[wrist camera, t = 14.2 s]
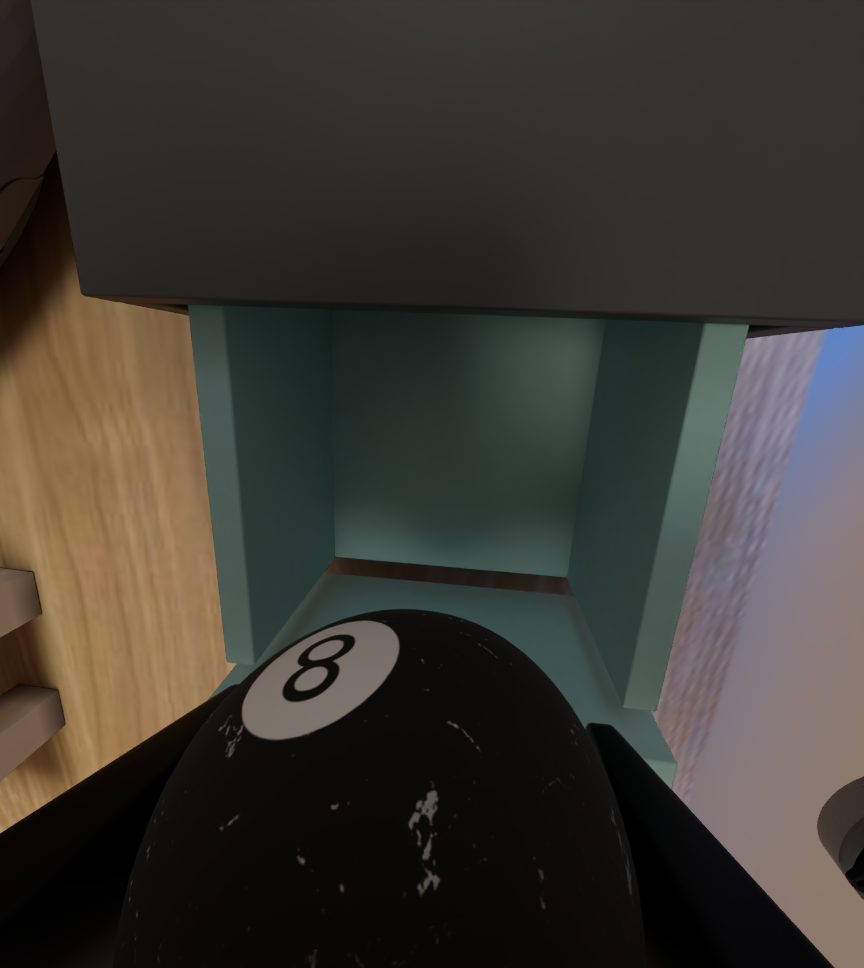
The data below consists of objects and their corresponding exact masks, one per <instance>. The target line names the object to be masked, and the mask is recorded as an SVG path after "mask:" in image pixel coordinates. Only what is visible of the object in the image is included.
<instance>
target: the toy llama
mask: <svg viewBox="0 0 864 968" xmlns="http://www.w3.org/2000/svg"><path fill="white" fill-rule="evenodd" d="M39 615H41V609H40V604H39V599H38V595H37V590H36V585H35V581H34V576H33V572H27V571H20V570H12V569H4V568H0V637H2V636H4V635H5V634H7V633H9V632H11V631H12V630H14V629H16V628H18V627H20V626H21V625H23V624H25V623H27V622H28V621H30V620H32V619H34V618H35V617H37V616H39ZM64 725H65V722H64V717H63V713H62V708H61V703H60V699H59V694H58V690H53V689H47V688H41V687H34V686H28V685H21V684H17V685H15V686H14V687H13V688H11V689H10V690H8V691H7V692H5V693H4V694H2V695H1V696H0V781H1V780H2V779H3V778H4V777H6V776H7V775H8V774H9V773H10V772H11V771H13V770H14V769H15V768H16V767H17V766H18V765H19V764H21V763H22V762H23V761H24V760H25V759H26V758H28V757H29V756H30V755H31V754H32V753H33V752H34V751H36V750H37V749H38V748H39V747H40V746H41V745H43V744H44V743H45V742H46V741H47V740H48V739H49V738H51V737H52V736H53V735H54V734H55V733H56V732H58V731H59V730H60V729H61V728H62V727H63V726H64Z"/></svg>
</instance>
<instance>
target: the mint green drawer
mask: <svg viewBox="0 0 864 968" xmlns="http://www.w3.org/2000/svg"><path fill="white" fill-rule="evenodd" d="M188 310H189V319H190V328H191V337H192V347H193V356H194V365H195V374H196V383H197V393H198V402H199V411H200V420H201V429H202V439H203V448H204V457H205V466H206V476H207V485H208V494H209V503H210V512H211V522H212V531H213V540H214V549H215V558H216V568H217V577H218V586H219V595H220V605H221V614H222V623H223V632H224V641H225V651H226V660H227V662H230V663H238V664H237V665H236V666H235V667H234V668H233V670H232V671H231V672H230V673H229V675H228V676H227V677H226V678H225V680H224V681H223V682H222V683H221V684H220V686H219V687H218V688H217V689H216V691H215V692H214V693H213V694H212V696H211V697H210V698H209V699H211V698H212V697H214V696H215V695H217V694H218V693H220V692H222V691H223V690H225V689H226V688H228V687H229V686H231V685H234V684H240V683H241V682H242V681H243V680H244V679H245V678H246V677H247V676H248V675H249V674H250V673H252V672H253V671H254V670H255V669H257V668H258V667H259V666H260V665H261V664H263V663H264V662H265V661H267V660H268V659H269V658H271V657H272V656H273V655H275V654H276V653H277V652H279V651H280V650H282V649H283V648H285V647H286V646H288V645H290V644H291V643H293V642H295V641H296V640H298V639H300V638H301V637H303V636H305V635H307V634H309V633H311V632H313V631H315V630H317V629H320V628H322V627H324V626H326V625H328V624H331V623H333V622H336V621H339V620H341V619H344V618H348V617H352V616H355V615H359V614H363V613H367V612H373V611H380V610H389V609H418V610H427V611H435V612H440V613H445V614H450V615H453V616H457V617H460V618H464V619H467V620H469V621H472V622H474V623H477V624H479V625H481V626H483V627H485V628H487V629H489V630H491V631H493V632H495V633H497V634H498V635H500V636H502V637H503V638H505V639H506V640H508V641H509V642H510V643H512V644H513V645H515V646H516V647H517V648H519V649H520V650H521V651H522V652H524V653H525V654H526V655H527V656H528V657H529V658H530V659H531V660H533V661H534V662H535V663H536V664H537V665H538V666H539V667H540V668H541V669H542V670H543V671H544V673H545V674H546V675H547V676H548V677H549V678H550V679H551V680H552V681H553V683H554V684H555V685H556V686H557V688H558V689H559V690H560V692H561V693H562V694H563V696H564V697H565V698H566V700H567V701H568V702H569V704H570V705H571V707H572V708H573V710H574V711H575V713H576V715H577V716H578V718H579V719H580V721H581V723H582V724H583V726H584V728H586V726H587V724H588V723H591V722H593V723H602V724H609V725H612V726H613V727H614V728H615V729H616V730H617V731H618V732H619V733H620V734H621V735H622V736H623V737H624V738H625V739H626V741H627V742H628V743H629V744H630V745H631V746H632V747H633V748H634V749H635V750H636V751H637V753H638V754H639V755H640V756H641V757H642V758H643V759H644V760H645V761H646V762H647V763H648V765H649V766H650V767H651V768H652V769H653V770H654V771H655V772H656V773H657V774H658V776H659V777H660V778H661V779H662V780H663V781H664V782H665V783H666V784H667V785H668V786H669V788H670V789H672V785H673V781H674V777H675V774H676V770H677V762H676V761H675V759H674V757H673V755H672V753H671V751H670V749H669V747H668V745H667V743H666V741H665V739H664V737H663V735H662V733H661V731H660V729H659V727H658V725H657V723H656V721H655V719H654V717H653V716H652V714H651V712H650V711H656V710H657V706H658V702H659V698H660V694H661V689H662V685H663V681H664V677H665V673H666V669H667V665H668V660H669V656H670V652H671V648H672V644H673V640H674V635H675V631H676V627H677V623H678V619H679V615H680V611H681V606H682V602H683V598H684V594H685V590H686V586H687V581H688V577H689V573H690V569H691V565H692V561H693V557H694V552H695V548H696V544H697V540H698V536H699V532H700V528H701V523H702V519H703V515H704V511H705V507H706V503H707V498H708V494H709V490H710V486H711V482H712V478H713V474H714V469H715V465H716V461H717V457H718V453H719V449H720V444H721V440H722V436H723V432H724V428H725V424H726V420H727V415H728V411H729V407H730V403H731V399H732V395H733V391H734V386H735V382H736V378H737V374H738V370H739V366H740V361H741V357H742V353H743V349H744V345H745V341H746V337H747V332H748V328H749V325H744V324H716V323H688V322H661V321H633V320H605V319H577V318H549V317H521V316H493V315H465V314H437V313H409V312H382V311H354V310H326V309H298V308H270V307H242V306H214V305H188ZM335 557H342V558H353V559H364V560H375V561H387V562H398V563H409V564H420V565H431V566H443V567H454V568H465V569H476V570H488V571H499V572H510V573H521V574H532V575H544V576H555V577H566V578H567V580H568V582H569V584H570V586H571V589H572V591H573V593H574V596H572V595H561V594H550V593H539V592H529V591H518V590H507V589H496V588H486V587H475V586H464V585H453V584H442V583H432V582H421V581H410V580H399V579H388V578H378V577H367V576H356V575H345V574H335V573H324V572H325V570H326V569H327V568H328V566H329V565H330V564H331V562H332V561H333V560H334V558H335ZM209 699H208V700H209Z"/></svg>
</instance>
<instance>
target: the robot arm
mask: <svg viewBox="0 0 864 968" xmlns="http://www.w3.org/2000/svg"><path fill="white" fill-rule="evenodd" d="M238 685H239V684H234V685H231V686H229V687H228V688H226V689H225V690H223V691H222V692H220V693H218V694H217V695H215V696H214V697H212V698H211V699H209V700H208V701H206V702H204V703H203V704H201V705H200V706H198V707H197V708H195V709H194V710H192V711H190V712H189V713H187V714H186V715H184V716H183V717H181V718H179V719H178V720H176V721H175V722H173V723H172V724H170V725H169V726H167V727H165V728H164V729H162V730H161V731H159V732H158V733H156V734H155V735H153V736H151V737H150V738H148V739H147V740H145V741H144V742H142V743H140V744H139V745H137V746H136V747H134V748H133V749H131V750H130V751H128V752H126V753H125V754H123V755H122V756H120V757H119V758H117V759H116V760H114V761H112V762H111V763H109V764H108V765H106V766H105V767H103V768H102V769H100V770H98V771H97V772H95V773H94V774H92V775H91V776H89V777H87V778H86V779H84V780H83V781H81V782H80V783H78V784H77V785H75V786H73V787H72V788H70V789H69V790H67V791H66V792H64V793H63V794H61V795H59V796H58V797H56V798H55V799H53V800H52V801H50V802H48V803H47V804H45V805H44V806H42V807H41V808H39V809H38V810H36V811H34V812H33V813H31V814H30V815H28V816H27V817H25V818H24V819H22V820H20V821H19V822H17V823H16V824H14V825H13V826H11V827H10V828H8V829H6V830H5V831H3V832H2V833H0V968H113V957H114V949H115V944H116V938H117V932H118V926H119V921H120V916H121V911H122V906H123V902H124V898H125V894H126V890H127V886H128V882H129V878H130V875H131V872H132V869H133V866H134V862H135V859H136V856H137V853H138V850H139V847H140V844H141V842H142V839H143V836H144V833H145V831H146V828H147V826H148V823H149V821H150V818H151V816H152V813H153V811H154V808H155V806H156V804H157V802H158V800H159V798H160V796H161V794H162V792H163V789H164V787H165V785H166V783H167V782H168V780H169V778H170V776H171V774H172V773H173V771H174V769H175V767H176V766H177V764H178V762H179V760H180V759H181V757H182V755H183V754H184V752H185V750H186V748H187V747H188V745H189V744H190V742H191V741H192V739H193V738H194V737H195V735H196V734H197V732H198V731H199V729H200V728H201V727H202V725H203V724H204V723H205V722H206V720H207V719H208V718H209V717H210V715H211V714H212V713H213V712H214V711H215V709H216V708H217V707H218V706H219V705H220V703H221V702H222V701H223V700H224V699H225V698H226V697H227V696H228V695H229V694H230V693H231V692H232V691H233V690H234V689H235V688H236V687H237V686H238ZM585 730H586V732H587V733H588V735H589V737H590V739H591V741H592V743H593V745H594V747H595V749H596V751H597V753H598V755H599V757H600V759H601V762H602V764H603V766H604V769H605V771H606V773H607V776H608V778H609V781H610V783H611V786H612V789H613V791H614V794H615V797H616V799H617V803H618V806H619V809H620V813H621V816H622V819H623V823H624V826H625V830H626V833H627V837H628V840H629V843H630V848H631V852H632V857H633V862H634V867H635V872H636V877H637V882H638V888H639V894H640V901H641V909H642V916H643V924H644V936H645V955H646V968H834V967H833V966H832V964H830V962H829V961H828V960H827V959H826V958H825V957H824V956H823V955H822V954H821V952H819V950H818V949H817V948H816V947H815V946H814V945H813V944H812V943H811V942H810V940H809V939H808V938H807V937H806V936H805V935H804V934H803V933H802V932H801V931H800V930H799V928H797V926H796V925H795V924H794V923H793V922H792V921H791V920H790V919H789V918H788V917H787V915H786V914H785V913H784V912H783V911H782V910H781V909H780V908H779V907H778V905H777V904H775V902H774V901H773V900H772V899H771V898H770V897H769V896H768V895H767V893H766V892H765V891H764V890H763V889H762V888H761V887H760V886H759V885H758V884H757V883H756V881H755V880H754V879H753V878H752V877H751V876H750V875H749V874H748V873H747V872H746V871H745V869H744V868H743V867H742V866H741V865H740V864H739V863H738V862H737V861H736V860H735V859H734V857H733V856H732V855H731V854H730V853H729V852H728V851H727V850H726V849H725V848H724V847H723V846H722V844H721V843H720V842H719V841H718V840H717V839H716V838H715V837H714V836H713V835H712V833H711V832H710V831H709V830H708V829H707V828H706V827H705V826H704V825H703V824H702V823H701V821H700V820H699V819H698V818H697V817H696V816H695V815H694V814H693V813H692V812H691V810H690V809H689V808H688V807H687V806H686V805H685V804H684V803H683V802H682V801H681V800H680V798H679V797H678V796H677V795H676V794H675V793H674V792H673V791H672V790H671V789H670V788H669V786H668V785H667V784H666V783H665V782H664V781H663V780H662V779H661V778H660V777H659V776H658V774H657V773H656V772H655V771H654V770H653V769H652V768H651V767H650V766H649V765H648V763H647V762H646V761H645V760H644V759H643V758H642V757H641V756H640V755H639V754H638V753H637V751H636V750H635V749H634V748H633V747H632V746H631V745H630V744H629V743H628V742H627V741H626V739H625V738H624V737H623V736H622V735H621V734H620V733H619V732H618V731H617V730H616V729H615V728H614V727H613V726H612V725H609V724H602V723H593V722H591V723H588V724H587V726H586V728H585ZM845 877H846V879H847V880H848V882H849V883H850V884H851V886H852V887H854V889H856V890H858V891H860V892H861V893H863V894H864V860H862V861H861V862H859V863H858V864H856V865H855V866H854V867H852V868H851V869H849V870H848V871H847V872H846V873H845Z"/></svg>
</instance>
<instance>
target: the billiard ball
mask: <svg viewBox="0 0 864 968" xmlns="http://www.w3.org/2000/svg"><path fill="white" fill-rule="evenodd" d="M113 968H646V955H645V936H644V924H643V916H642V909H641V901H640V894H639V888H638V882H637V877H636V872H635V867H634V862H633V857H632V852H631V848H630V843H629V840H628V837H627V833H626V830H625V826H624V823H623V819H622V816H621V813H620V809H619V806H618V803H617V799H616V797H615V794H614V791H613V789H612V786H611V783H610V781H609V778H608V776H607V773H606V771H605V769H604V766H603V764H602V762H601V759H600V757H599V755H598V753H597V751H596V749H595V747H594V745H593V743H592V741H591V739H590V737H589V735H588V733H587V732H586V730H585V728H584V726H583V724H582V723H581V721H580V719H579V718H578V716H577V715H576V713H575V711H574V710H573V708H572V707H571V705H570V704H569V702H568V701H567V700H566V698H565V697H564V696H563V694H562V693H561V692H560V690H559V689H558V688H557V686H556V685H555V684H554V683H553V681H552V680H551V679H550V678H549V677H548V676H547V675H546V674H545V673H544V671H543V670H542V669H541V668H540V667H539V666H538V665H537V664H536V663H535V662H534V661H533V660H531V659H530V658H529V657H528V656H527V655H526V654H525V653H524V652H522V651H521V650H520V649H519V648H517V647H516V646H515V645H513V644H512V643H510V642H509V641H508V640H506V639H505V638H503V637H502V636H500V635H498V634H497V633H495V632H493V631H491V630H489V629H487V628H485V627H483V626H481V625H479V624H477V623H474V622H472V621H469V620H467V619H464V618H460V617H457V616H453V615H450V614H445V613H440V612H435V611H427V610H418V609H389V610H380V611H373V612H367V613H363V614H359V615H355V616H352V617H348V618H344V619H341V620H339V621H336V622H333V623H331V624H328V625H326V626H324V627H322V628H320V629H317V630H315V631H313V632H311V633H309V634H307V635H305V636H303V637H301V638H300V639H298V640H296V641H295V642H293V643H291V644H290V645H288V646H286V647H285V648H283V649H282V650H280V651H279V652H277V653H276V654H275V655H273V656H272V657H271V658H269V659H268V660H267V661H265V662H264V663H263V664H261V665H260V666H259V667H258V668H257V669H255V670H254V671H253V672H252V673H250V674H249V675H248V676H247V677H246V678H245V679H244V680H243V681H242V682H241V683H240V684H239V685H238V686H237V687H236V688H235V689H234V690H233V691H232V692H231V693H230V694H229V695H228V696H227V697H226V698H225V699H224V700H223V701H222V702H221V703H220V705H219V706H218V707H217V708H216V709H215V711H214V712H213V713H212V714H211V715H210V717H209V718H208V719H207V720H206V722H205V723H204V724H203V725H202V727H201V728H200V729H199V731H198V732H197V734H196V735H195V737H194V738H193V739H192V741H191V742H190V744H189V745H188V747H187V748H186V750H185V752H184V754H183V755H182V757H181V759H180V760H179V762H178V764H177V766H176V767H175V769H174V771H173V773H172V774H171V776H170V778H169V780H168V782H167V783H166V785H165V787H164V789H163V792H162V794H161V796H160V798H159V800H158V802H157V804H156V806H155V808H154V811H153V813H152V816H151V818H150V821H149V823H148V826H147V828H146V831H145V833H144V836H143V839H142V842H141V844H140V847H139V850H138V853H137V856H136V859H135V862H134V866H133V869H132V872H131V875H130V878H129V882H128V886H127V890H126V894H125V898H124V902H123V906H122V911H121V916H120V921H119V926H118V932H117V938H116V944H115V949H114V957H113Z"/></svg>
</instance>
